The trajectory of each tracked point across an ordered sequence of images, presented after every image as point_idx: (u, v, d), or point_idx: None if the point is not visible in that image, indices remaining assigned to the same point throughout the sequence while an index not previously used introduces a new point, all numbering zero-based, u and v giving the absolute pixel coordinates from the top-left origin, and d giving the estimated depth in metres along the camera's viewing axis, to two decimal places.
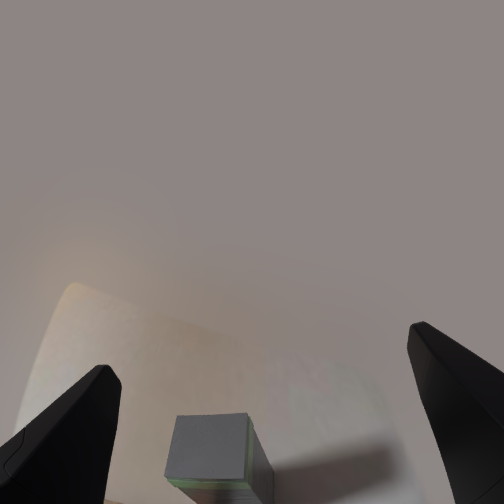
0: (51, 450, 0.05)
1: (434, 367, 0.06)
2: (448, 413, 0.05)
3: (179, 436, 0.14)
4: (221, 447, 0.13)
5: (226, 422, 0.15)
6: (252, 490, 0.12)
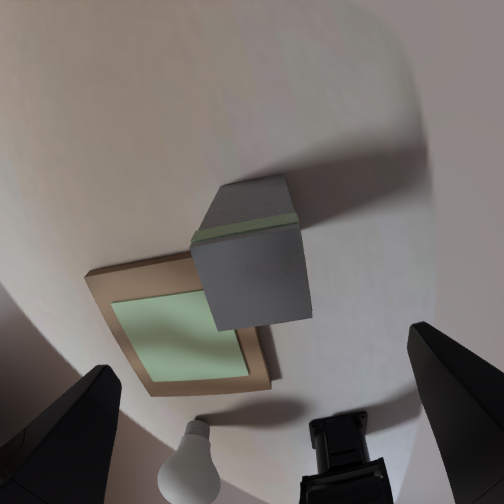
0: (51, 450, 0.05)
1: (434, 367, 0.06)
2: (448, 413, 0.05)
3: (210, 279, 0.12)
4: (276, 286, 0.12)
5: (272, 247, 0.11)
6: None
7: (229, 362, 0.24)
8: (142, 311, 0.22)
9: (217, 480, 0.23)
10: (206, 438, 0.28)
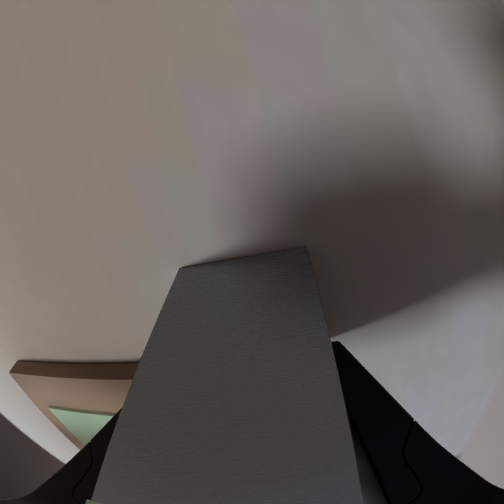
0: None
1: None
2: None
3: None
4: None
5: None
6: None
7: None
8: (89, 424, 0.13)
9: None
10: None
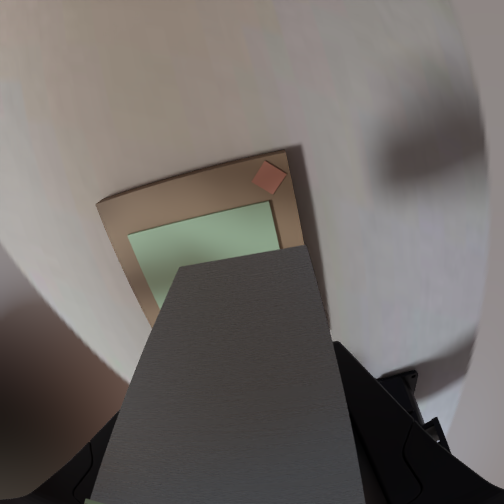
0: None
1: None
2: None
3: None
4: None
5: None
6: None
7: None
8: (168, 241, 0.19)
9: None
10: None
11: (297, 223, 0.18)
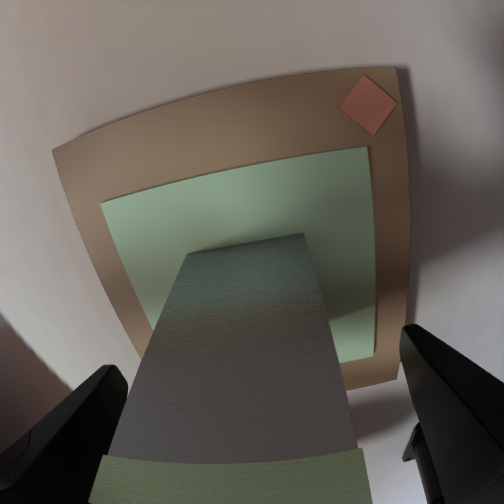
0: (57, 452, 0.05)
1: (424, 370, 0.06)
2: (438, 416, 0.05)
3: None
4: None
5: None
6: None
7: (346, 331, 0.12)
8: (172, 215, 0.10)
9: None
10: None
11: (405, 192, 0.10)
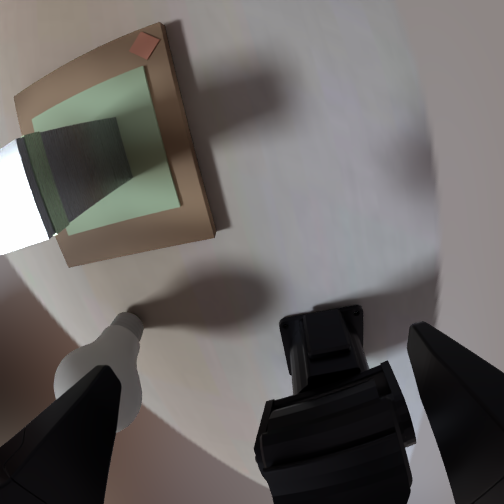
0: (51, 450, 0.05)
1: (434, 367, 0.06)
2: (448, 413, 0.05)
3: None
4: (13, 203, 0.09)
5: (2, 163, 0.08)
6: (74, 218, 0.12)
7: (153, 182, 0.18)
8: (60, 119, 0.16)
9: (132, 385, 0.17)
10: (133, 333, 0.21)
11: (171, 85, 0.16)
